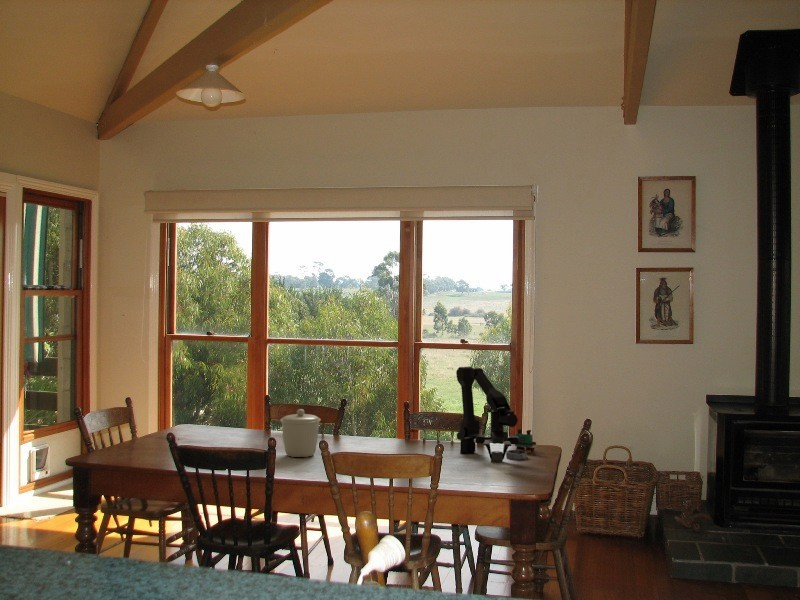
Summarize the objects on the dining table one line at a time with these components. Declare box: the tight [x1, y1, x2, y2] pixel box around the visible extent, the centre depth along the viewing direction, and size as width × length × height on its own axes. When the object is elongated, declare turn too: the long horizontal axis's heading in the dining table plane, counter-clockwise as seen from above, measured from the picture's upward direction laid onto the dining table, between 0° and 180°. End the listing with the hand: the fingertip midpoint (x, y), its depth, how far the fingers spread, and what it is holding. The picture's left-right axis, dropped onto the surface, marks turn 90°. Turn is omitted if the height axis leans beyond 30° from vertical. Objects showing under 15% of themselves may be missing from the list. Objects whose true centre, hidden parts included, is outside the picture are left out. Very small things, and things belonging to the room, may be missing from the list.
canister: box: [279, 408, 322, 458], centre depth 339 cm, size 18×18×21 cm
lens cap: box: [490, 450, 504, 464], centre depth 329 cm, size 5×5×4 cm
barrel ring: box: [505, 449, 528, 461], centre depth 337 cm, size 9×9×2 cm
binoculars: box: [514, 428, 537, 454], centre depth 351 cm, size 9×11×10 cm
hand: (496, 459), depth 329 cm, fingers closed on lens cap, 5 cm apart
